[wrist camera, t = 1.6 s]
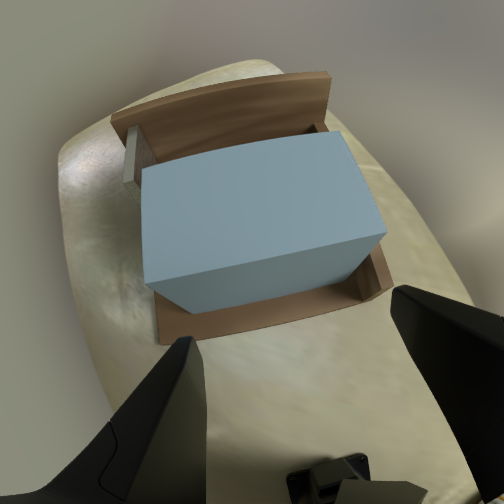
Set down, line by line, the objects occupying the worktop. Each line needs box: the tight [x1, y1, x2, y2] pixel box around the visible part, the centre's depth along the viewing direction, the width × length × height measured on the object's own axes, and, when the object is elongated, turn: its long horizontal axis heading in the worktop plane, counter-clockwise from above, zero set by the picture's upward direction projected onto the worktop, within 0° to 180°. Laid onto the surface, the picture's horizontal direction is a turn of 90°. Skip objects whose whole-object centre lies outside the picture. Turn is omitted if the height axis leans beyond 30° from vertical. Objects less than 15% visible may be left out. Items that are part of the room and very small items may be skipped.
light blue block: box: [141, 131, 387, 314], centre depth 18 cm, size 7×12×9 cm, turn 102°
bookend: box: [123, 125, 158, 207], centre depth 21 cm, size 6×2×8 cm, turn 12°
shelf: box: [110, 71, 394, 346], centre depth 19 cm, size 16×17×10 cm
